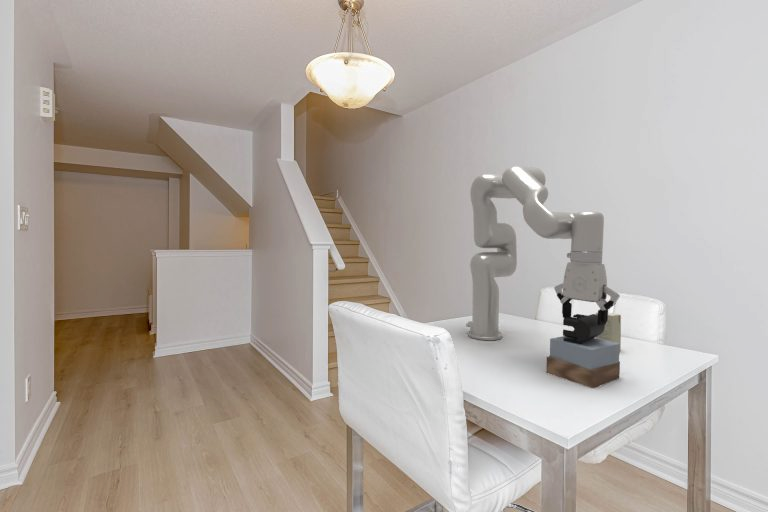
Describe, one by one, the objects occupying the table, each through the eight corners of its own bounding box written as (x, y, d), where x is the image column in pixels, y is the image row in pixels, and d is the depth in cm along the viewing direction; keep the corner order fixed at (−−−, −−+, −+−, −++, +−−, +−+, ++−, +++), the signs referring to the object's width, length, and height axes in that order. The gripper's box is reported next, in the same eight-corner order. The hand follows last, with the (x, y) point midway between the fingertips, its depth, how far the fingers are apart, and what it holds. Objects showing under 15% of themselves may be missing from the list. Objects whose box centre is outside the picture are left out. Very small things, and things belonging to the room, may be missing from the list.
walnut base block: (546, 374, 107) (546, 357, 106) (572, 365, 114) (572, 349, 113) (593, 390, 96) (594, 370, 95) (619, 379, 103) (619, 361, 103)
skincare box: (621, 351, 126) (622, 314, 125) (611, 353, 124) (612, 315, 124) (603, 346, 132) (604, 311, 131) (594, 347, 130) (595, 312, 130)
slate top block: (549, 356, 107) (550, 338, 106) (577, 350, 112) (577, 333, 112) (591, 369, 96) (591, 350, 96) (618, 362, 102) (619, 343, 102)
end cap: (589, 347, 99) (590, 320, 98) (561, 341, 104) (562, 316, 104) (604, 340, 105) (605, 315, 105) (577, 334, 111) (578, 311, 110)
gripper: (548, 256, 109) (546, 316, 110) (612, 260, 94) (609, 329, 96) (564, 255, 113) (562, 313, 114) (627, 259, 99) (624, 325, 100)
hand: (583, 320), depth 105 cm, fingers open, 9 cm apart
